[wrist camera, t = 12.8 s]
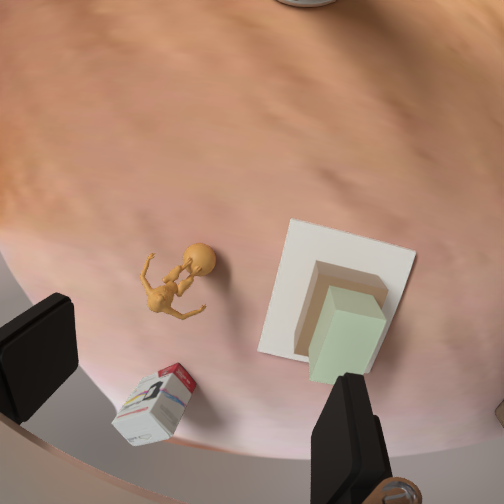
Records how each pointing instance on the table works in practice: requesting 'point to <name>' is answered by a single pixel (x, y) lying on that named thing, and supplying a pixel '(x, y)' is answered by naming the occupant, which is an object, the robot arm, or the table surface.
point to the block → (500, 413)
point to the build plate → (336, 253)
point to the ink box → (155, 406)
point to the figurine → (194, 261)
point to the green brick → (344, 335)
